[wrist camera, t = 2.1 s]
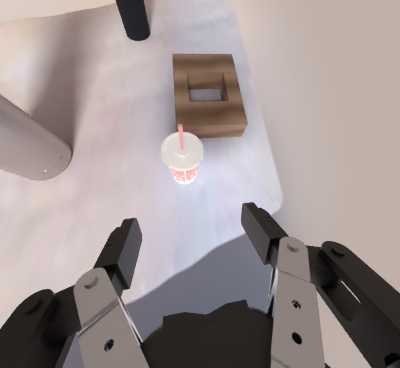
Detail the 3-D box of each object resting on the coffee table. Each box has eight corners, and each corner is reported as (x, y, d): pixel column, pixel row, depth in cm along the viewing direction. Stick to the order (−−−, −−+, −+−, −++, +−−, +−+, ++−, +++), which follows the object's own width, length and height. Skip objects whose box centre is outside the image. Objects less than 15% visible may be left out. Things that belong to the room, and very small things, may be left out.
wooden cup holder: (241, 136, 33) (247, 124, 29) (177, 138, 32) (176, 126, 28) (227, 71, 39) (231, 54, 35) (174, 71, 38) (172, 53, 34)
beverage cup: (198, 158, 31) (204, 102, 18) (201, 186, 29) (211, 148, 16) (168, 160, 30) (151, 104, 17) (169, 189, 28) (152, 152, 15)
